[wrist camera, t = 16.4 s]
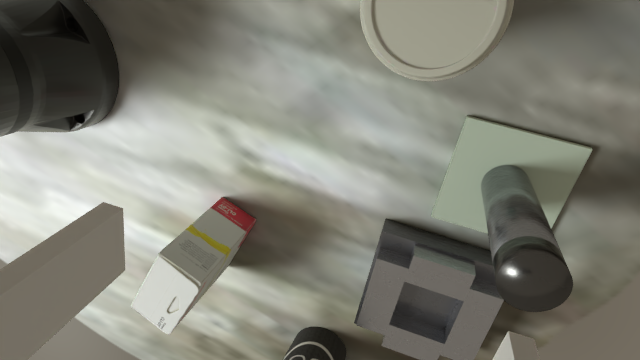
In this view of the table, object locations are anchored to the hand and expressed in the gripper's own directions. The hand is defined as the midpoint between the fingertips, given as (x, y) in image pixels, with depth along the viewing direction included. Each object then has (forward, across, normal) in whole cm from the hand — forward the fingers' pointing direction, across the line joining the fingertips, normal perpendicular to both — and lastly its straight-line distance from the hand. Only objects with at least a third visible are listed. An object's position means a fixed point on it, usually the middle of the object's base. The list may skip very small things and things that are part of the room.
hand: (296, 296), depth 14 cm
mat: (+26, +12, -4) cm, 29 cm away
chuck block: (+26, +9, -17) cm, 32 cm away
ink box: (+27, -14, -19) cm, 36 cm away
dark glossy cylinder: (+25, +12, -4) cm, 28 cm away
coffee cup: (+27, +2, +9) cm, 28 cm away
